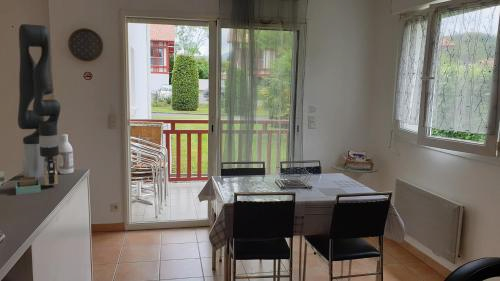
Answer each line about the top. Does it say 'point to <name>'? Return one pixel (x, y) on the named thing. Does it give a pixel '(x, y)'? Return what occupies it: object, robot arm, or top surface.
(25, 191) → the tote
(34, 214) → the top surface
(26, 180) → the block
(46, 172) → the light box
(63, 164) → the bath foam
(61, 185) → the top surface
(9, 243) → the top surface
